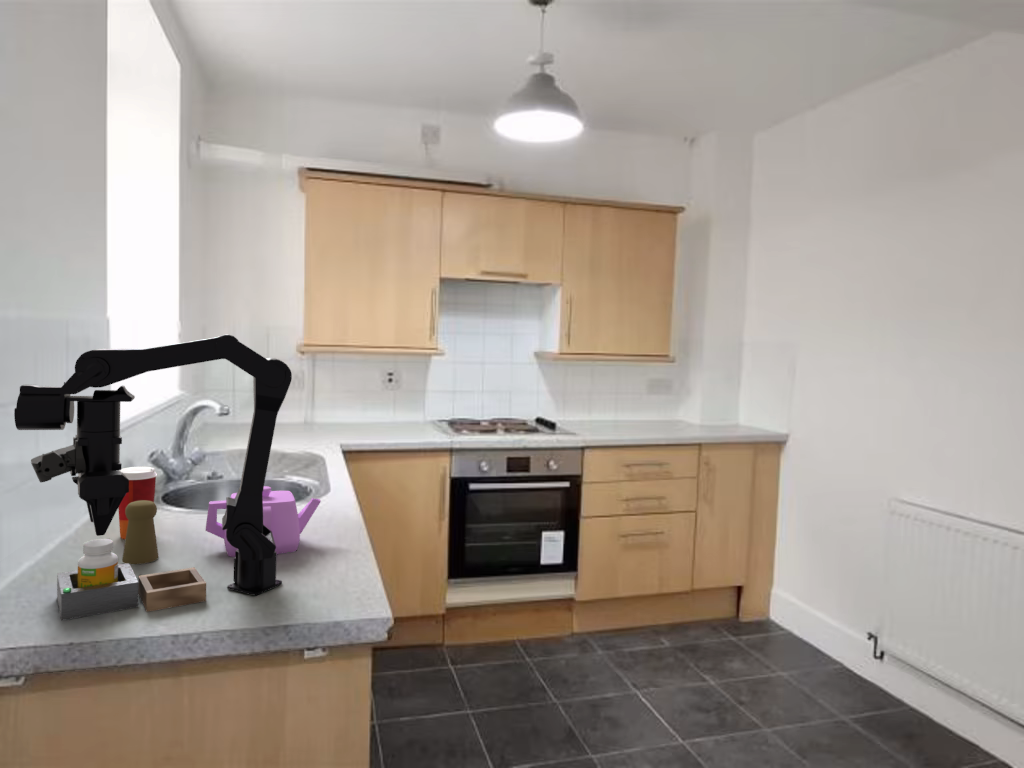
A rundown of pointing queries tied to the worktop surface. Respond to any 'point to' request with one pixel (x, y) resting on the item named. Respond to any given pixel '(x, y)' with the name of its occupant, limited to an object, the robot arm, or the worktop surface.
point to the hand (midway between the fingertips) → (97, 528)
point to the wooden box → (171, 589)
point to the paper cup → (136, 491)
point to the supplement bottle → (97, 564)
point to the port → (96, 594)
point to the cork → (140, 533)
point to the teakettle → (270, 519)
